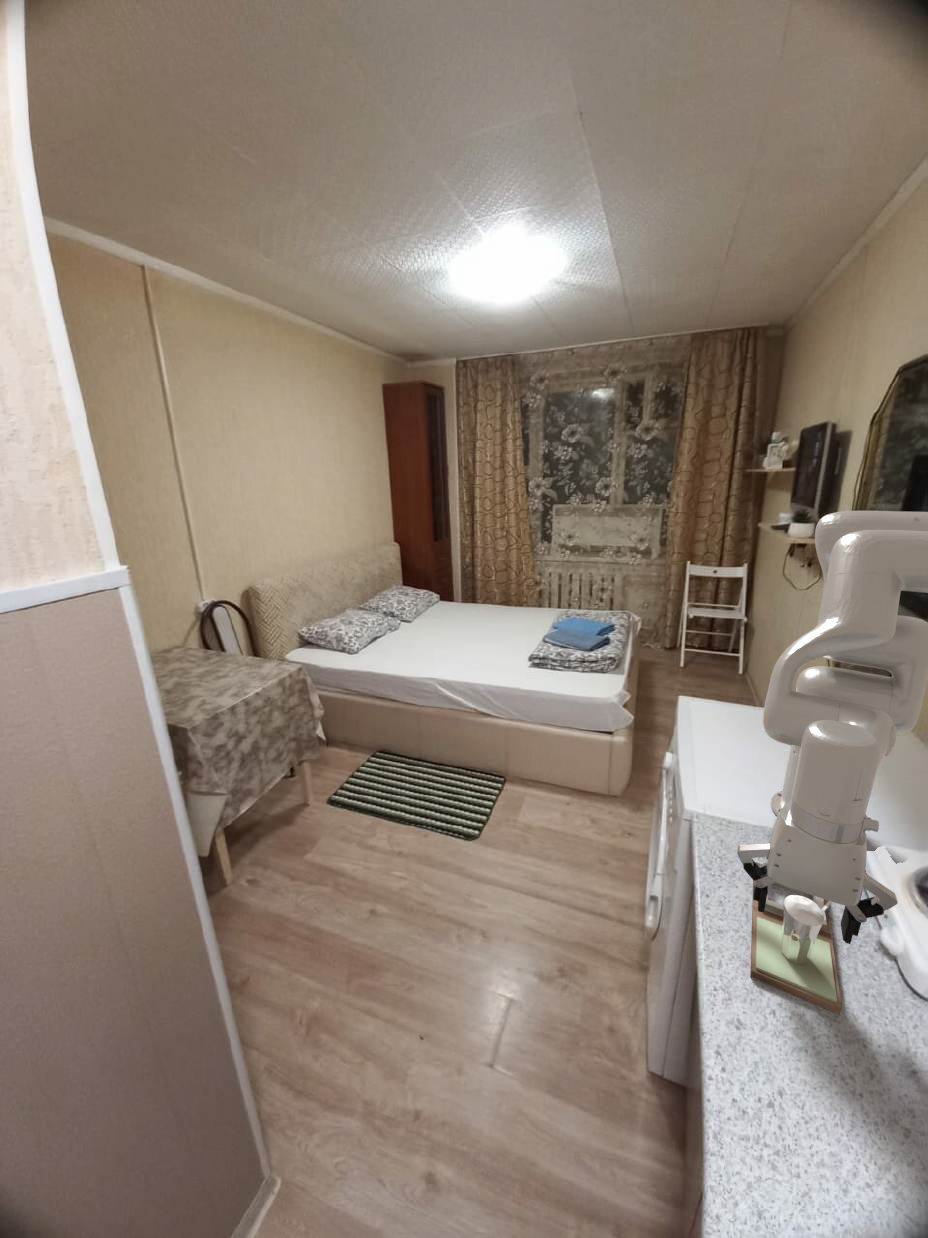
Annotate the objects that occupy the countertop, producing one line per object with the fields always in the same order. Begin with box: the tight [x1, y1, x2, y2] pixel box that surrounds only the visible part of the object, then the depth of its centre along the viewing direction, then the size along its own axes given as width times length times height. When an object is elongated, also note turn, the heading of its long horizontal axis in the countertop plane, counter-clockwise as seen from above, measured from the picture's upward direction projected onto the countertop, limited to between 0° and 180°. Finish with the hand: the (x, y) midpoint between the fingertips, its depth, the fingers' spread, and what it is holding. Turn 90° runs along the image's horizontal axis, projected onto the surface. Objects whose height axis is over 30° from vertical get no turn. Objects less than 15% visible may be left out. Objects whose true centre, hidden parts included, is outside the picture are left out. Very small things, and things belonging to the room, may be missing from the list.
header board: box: [749, 861, 843, 1016], centre depth 73 cm, size 22×10×2 cm, turn 149°
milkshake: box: [781, 894, 833, 965], centre depth 67 cm, size 4×5×10 cm
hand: (801, 919), depth 67 cm, fingers open, 9 cm apart
